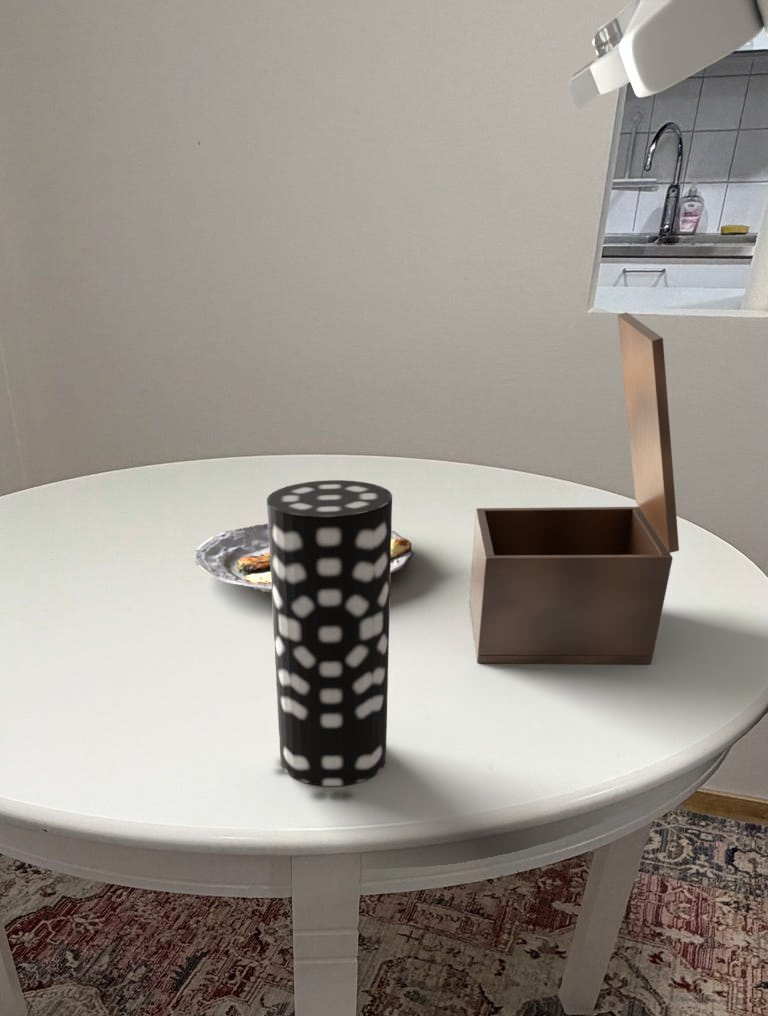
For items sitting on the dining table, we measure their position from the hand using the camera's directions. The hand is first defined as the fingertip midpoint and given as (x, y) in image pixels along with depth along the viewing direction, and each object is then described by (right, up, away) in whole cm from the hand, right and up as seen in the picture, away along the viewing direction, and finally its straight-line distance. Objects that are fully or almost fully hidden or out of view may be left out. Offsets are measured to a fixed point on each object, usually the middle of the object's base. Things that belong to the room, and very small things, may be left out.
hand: (585, 70), depth 69 cm
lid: (+9, -21, +13) cm, 26 cm away
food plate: (-20, -24, +41) cm, 52 cm away
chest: (+4, -35, +24) cm, 43 cm away
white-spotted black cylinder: (-18, -49, +6) cm, 53 cm away
